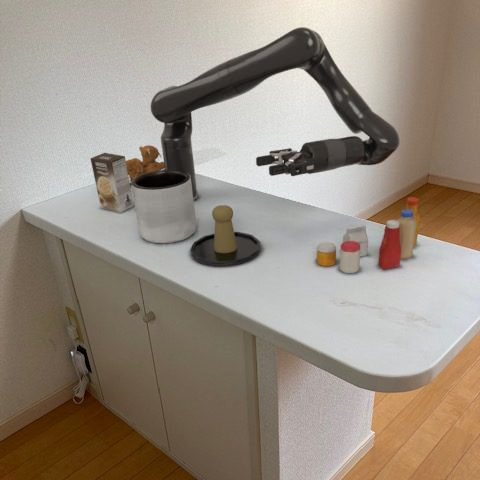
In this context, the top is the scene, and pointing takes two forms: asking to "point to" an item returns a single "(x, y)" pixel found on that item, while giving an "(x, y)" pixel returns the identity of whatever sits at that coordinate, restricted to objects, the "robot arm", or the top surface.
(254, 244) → the metal plate
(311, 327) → the top surface
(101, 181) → the coffee box
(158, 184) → the planter
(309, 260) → the top surface
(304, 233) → the top surface
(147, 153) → the stuffed squirrel
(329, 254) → the toy food
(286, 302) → the top surface
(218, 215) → the cork
